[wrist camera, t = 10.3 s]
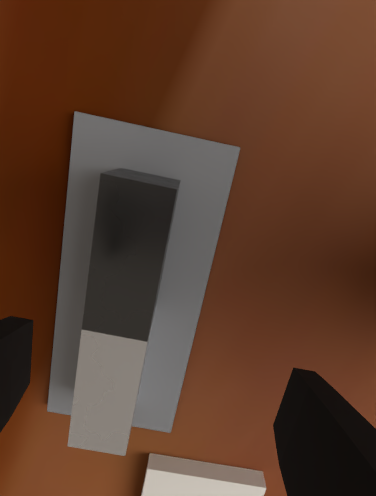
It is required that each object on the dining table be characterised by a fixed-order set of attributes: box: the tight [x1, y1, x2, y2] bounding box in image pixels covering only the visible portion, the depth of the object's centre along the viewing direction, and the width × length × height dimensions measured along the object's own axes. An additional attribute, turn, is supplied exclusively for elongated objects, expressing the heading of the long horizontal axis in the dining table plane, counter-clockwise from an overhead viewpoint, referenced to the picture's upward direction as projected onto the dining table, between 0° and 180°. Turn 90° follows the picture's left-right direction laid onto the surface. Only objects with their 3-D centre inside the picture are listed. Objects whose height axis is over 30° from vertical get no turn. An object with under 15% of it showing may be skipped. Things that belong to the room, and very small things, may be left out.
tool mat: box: [47, 111, 240, 433], centre depth 18 cm, size 8×18×1 cm, turn 168°
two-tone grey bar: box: [68, 168, 181, 456], centre depth 16 cm, size 3×14×4 cm, turn 168°
